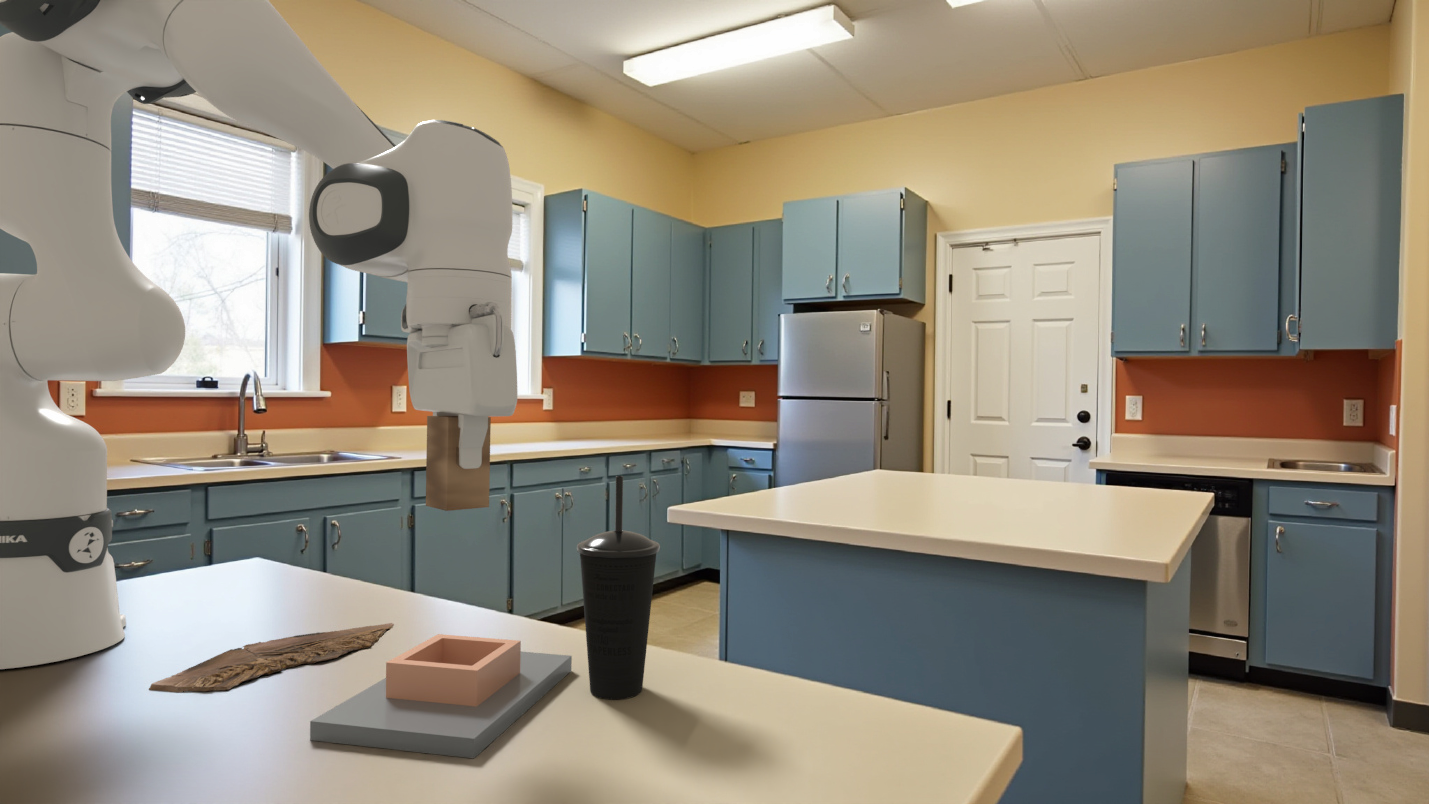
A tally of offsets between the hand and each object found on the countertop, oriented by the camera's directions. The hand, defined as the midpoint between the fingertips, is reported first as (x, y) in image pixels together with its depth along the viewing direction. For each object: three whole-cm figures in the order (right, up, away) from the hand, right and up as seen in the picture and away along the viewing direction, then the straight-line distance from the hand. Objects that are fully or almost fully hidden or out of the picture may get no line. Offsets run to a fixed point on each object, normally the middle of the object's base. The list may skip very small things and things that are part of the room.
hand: (458, 465), depth 73 cm
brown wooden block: (0, -4, 0) cm, 4 cm away
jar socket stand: (0, -21, 0) cm, 21 cm away
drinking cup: (+14, -22, +4) cm, 26 cm away
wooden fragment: (-21, -21, +13) cm, 33 cm away
